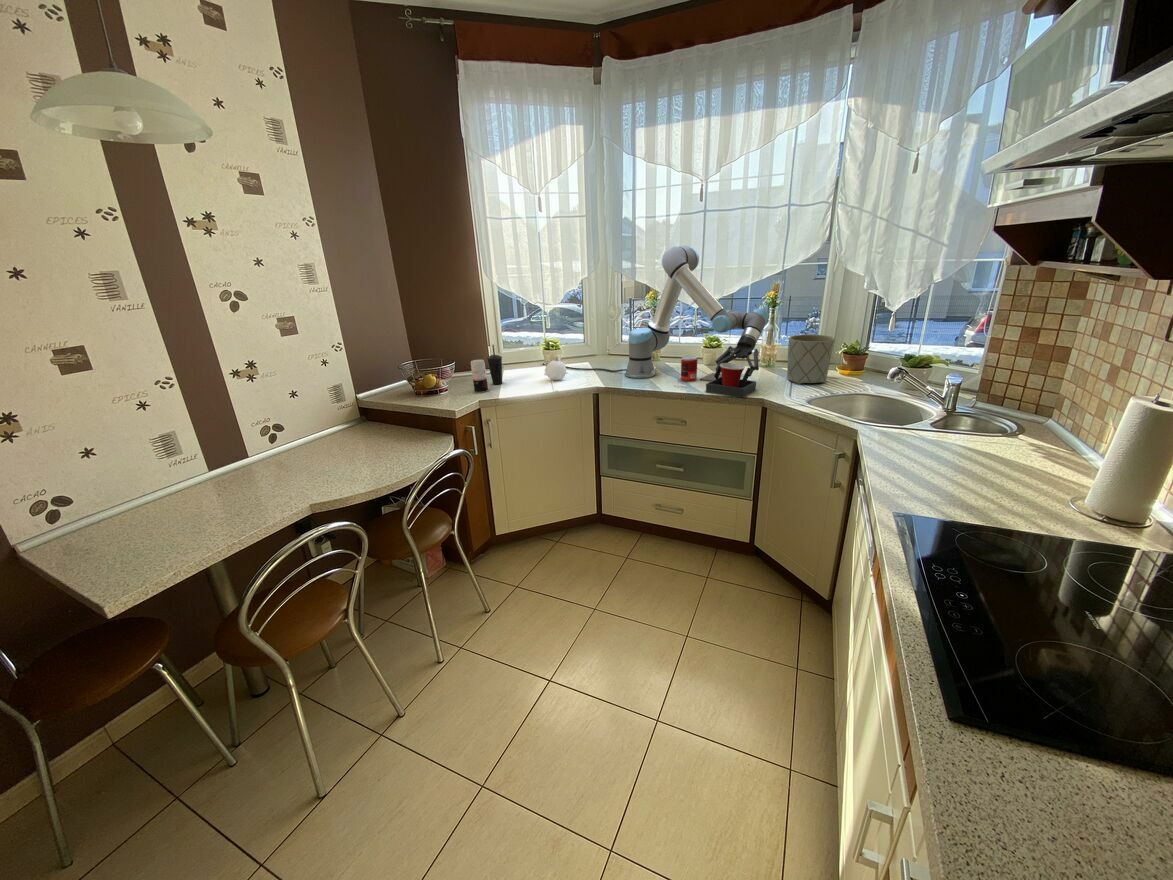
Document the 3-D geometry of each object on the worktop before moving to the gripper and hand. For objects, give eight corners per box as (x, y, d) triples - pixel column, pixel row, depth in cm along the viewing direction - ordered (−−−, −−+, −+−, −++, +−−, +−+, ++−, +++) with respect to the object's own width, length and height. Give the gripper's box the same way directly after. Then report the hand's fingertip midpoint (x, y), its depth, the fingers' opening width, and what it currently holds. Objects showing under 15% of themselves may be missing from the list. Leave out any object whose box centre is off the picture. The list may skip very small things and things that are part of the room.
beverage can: (482, 388, 238) (478, 358, 233) (490, 390, 234) (487, 360, 229) (471, 391, 234) (467, 361, 228) (480, 393, 230) (476, 362, 224)
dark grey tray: (705, 392, 214) (706, 383, 212) (719, 385, 224) (720, 376, 222) (742, 397, 203) (743, 388, 202) (755, 390, 213) (756, 381, 212)
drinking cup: (507, 381, 248) (503, 343, 241) (500, 385, 241) (495, 346, 234) (494, 381, 251) (490, 343, 243) (487, 385, 244) (482, 345, 237)
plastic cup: (744, 394, 208) (746, 367, 203) (718, 394, 210) (720, 367, 205) (742, 388, 217) (744, 362, 213) (717, 387, 220) (719, 362, 215)
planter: (817, 374, 232) (823, 333, 225) (836, 385, 215) (842, 340, 207) (778, 376, 233) (782, 335, 226) (793, 386, 215) (798, 342, 208)
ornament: (570, 379, 248) (569, 356, 243) (556, 383, 241) (554, 360, 236) (557, 376, 254) (555, 354, 250) (542, 380, 247) (541, 357, 243)
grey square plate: (699, 379, 234) (699, 378, 234) (712, 373, 244) (712, 372, 244) (726, 383, 226) (726, 382, 225) (739, 377, 235) (739, 376, 235)
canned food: (698, 378, 238) (699, 356, 234) (694, 382, 231) (695, 359, 227) (683, 377, 241) (683, 355, 237) (679, 381, 234) (679, 358, 230)
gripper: (777, 347, 209) (758, 388, 205) (726, 342, 225) (707, 380, 221) (773, 337, 203) (753, 378, 199) (720, 333, 220) (701, 371, 216)
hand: (729, 379), depth 210 cm, fingers open, 13 cm apart
